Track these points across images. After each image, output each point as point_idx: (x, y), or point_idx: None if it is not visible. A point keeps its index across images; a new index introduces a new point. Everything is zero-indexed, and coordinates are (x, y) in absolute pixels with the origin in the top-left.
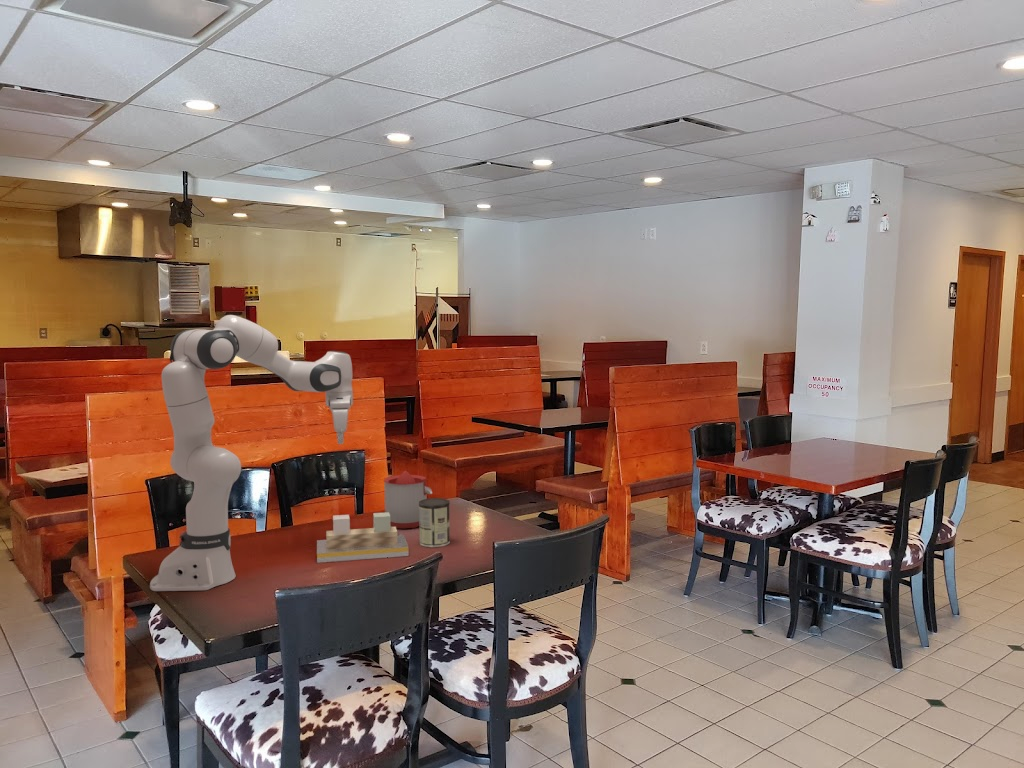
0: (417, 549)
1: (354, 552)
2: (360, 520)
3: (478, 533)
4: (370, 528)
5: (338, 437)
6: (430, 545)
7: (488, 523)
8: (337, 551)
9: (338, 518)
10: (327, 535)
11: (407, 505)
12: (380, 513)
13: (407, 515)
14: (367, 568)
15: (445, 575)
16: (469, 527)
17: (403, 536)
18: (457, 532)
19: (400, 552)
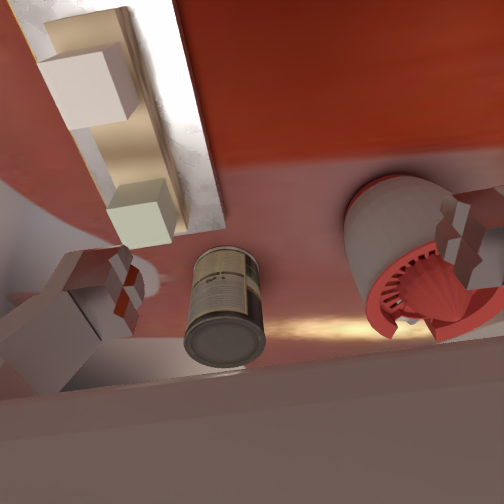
0: (179, 244)
1: None
2: (492, 77)
3: (283, 331)
4: (163, 169)
5: (16, 322)
6: (194, 268)
7: (347, 343)
8: None
9: (61, 84)
10: (54, 25)
11: (349, 257)
12: (155, 222)
13: (344, 239)
14: (16, 152)
15: (23, 292)
16: (328, 319)
17: (207, 228)
18: (297, 303)
19: None
